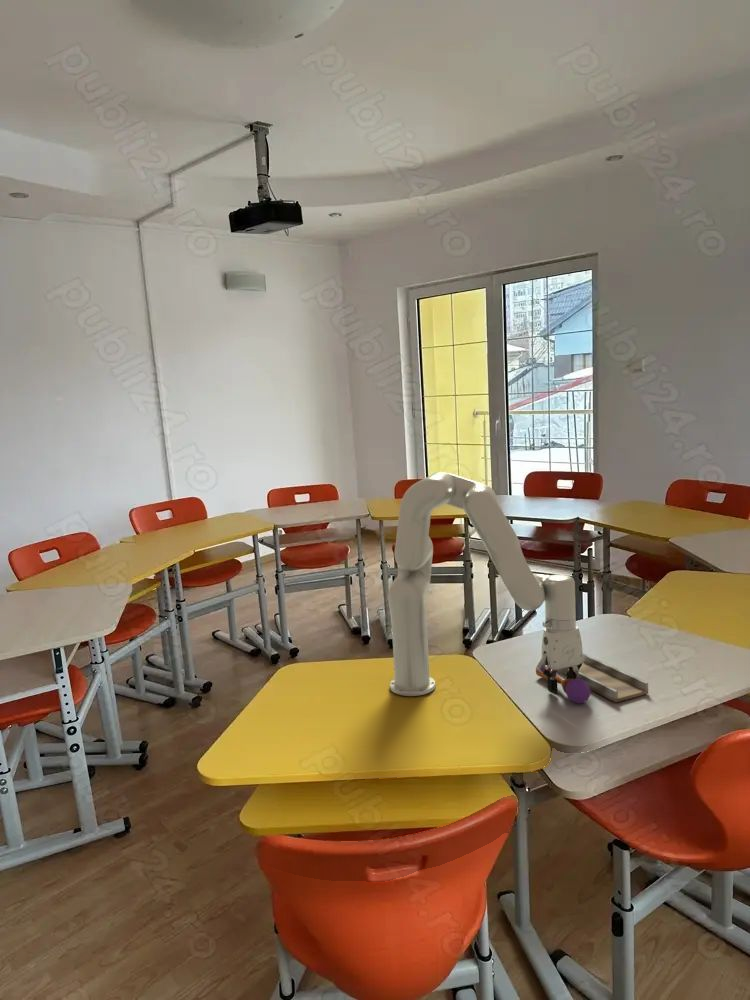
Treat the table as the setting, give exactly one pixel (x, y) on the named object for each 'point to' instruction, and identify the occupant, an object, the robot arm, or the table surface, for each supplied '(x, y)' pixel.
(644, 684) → the rail cradle
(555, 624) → the robot arm
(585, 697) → the kendama
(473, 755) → the table surface
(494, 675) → the table surface
